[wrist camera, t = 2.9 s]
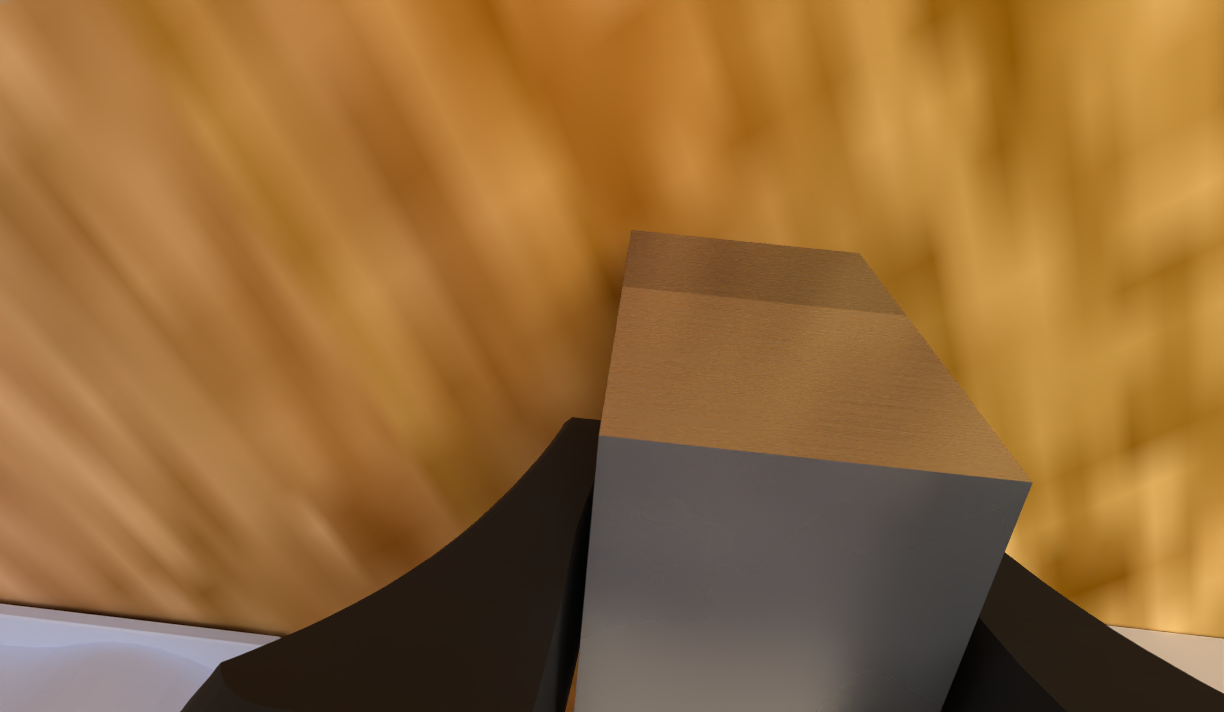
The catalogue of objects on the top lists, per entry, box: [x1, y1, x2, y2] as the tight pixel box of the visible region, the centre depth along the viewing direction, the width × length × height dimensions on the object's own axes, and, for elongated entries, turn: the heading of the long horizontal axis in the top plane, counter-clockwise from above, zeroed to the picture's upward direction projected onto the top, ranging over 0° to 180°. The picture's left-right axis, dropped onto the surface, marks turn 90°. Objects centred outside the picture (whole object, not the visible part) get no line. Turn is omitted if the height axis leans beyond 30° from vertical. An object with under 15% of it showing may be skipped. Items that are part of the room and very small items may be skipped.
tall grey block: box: [574, 230, 1032, 712], centre depth 10 cm, size 4×7×6 cm, turn 175°
